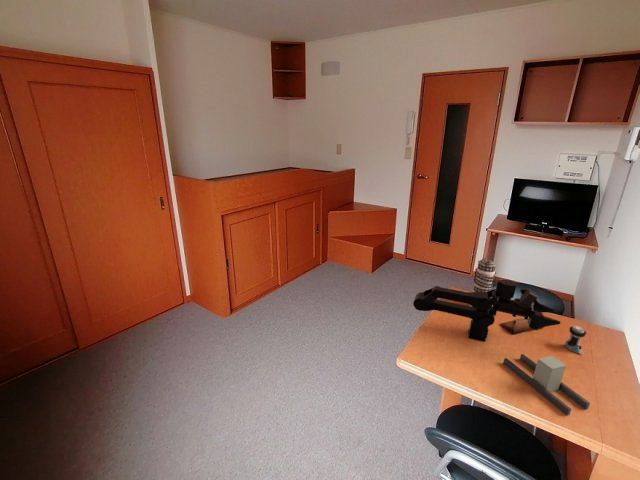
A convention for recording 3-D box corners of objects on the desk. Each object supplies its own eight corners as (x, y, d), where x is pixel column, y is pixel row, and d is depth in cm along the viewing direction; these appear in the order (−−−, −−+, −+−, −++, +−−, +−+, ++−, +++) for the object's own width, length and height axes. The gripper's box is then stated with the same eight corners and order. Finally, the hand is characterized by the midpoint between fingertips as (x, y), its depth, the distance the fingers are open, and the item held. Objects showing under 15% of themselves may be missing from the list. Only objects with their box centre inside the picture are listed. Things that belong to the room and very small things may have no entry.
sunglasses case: (527, 318, 151) (536, 311, 146) (537, 332, 147) (547, 325, 142) (497, 324, 146) (506, 317, 141) (506, 339, 142) (516, 332, 137)
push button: (586, 354, 128) (594, 332, 124) (577, 356, 126) (584, 335, 123) (569, 344, 134) (576, 323, 130) (560, 346, 132) (567, 325, 129)
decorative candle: (469, 300, 167) (478, 255, 159) (489, 305, 163) (499, 259, 155) (467, 307, 160) (476, 261, 152) (487, 313, 155) (498, 265, 147)
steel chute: (501, 366, 120) (503, 358, 119) (521, 361, 123) (524, 353, 121) (564, 418, 98) (568, 410, 97) (588, 411, 101) (591, 402, 100)
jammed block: (531, 382, 110) (538, 358, 107) (544, 379, 112) (551, 355, 109) (544, 393, 106) (552, 368, 103) (558, 389, 108) (566, 365, 104)
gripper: (518, 299, 117) (570, 309, 112) (512, 279, 134) (557, 287, 128) (511, 325, 121) (560, 336, 115) (506, 302, 137) (549, 311, 132)
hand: (557, 316), depth 123 cm, fingers open, 9 cm apart
